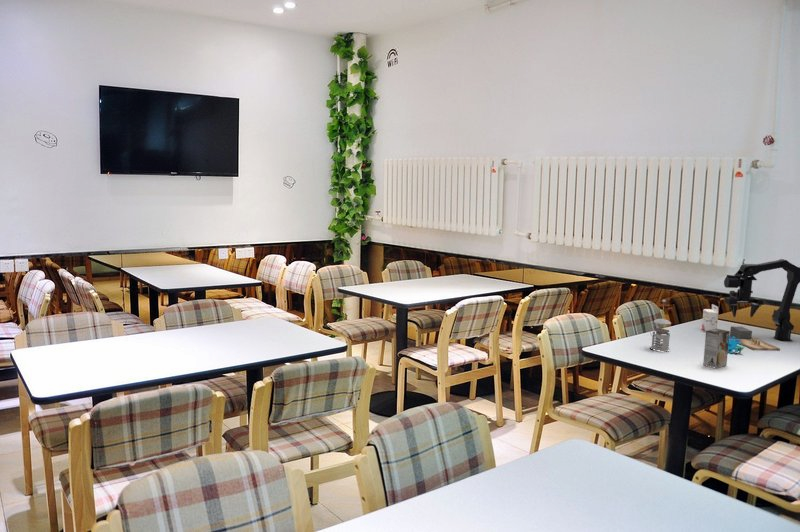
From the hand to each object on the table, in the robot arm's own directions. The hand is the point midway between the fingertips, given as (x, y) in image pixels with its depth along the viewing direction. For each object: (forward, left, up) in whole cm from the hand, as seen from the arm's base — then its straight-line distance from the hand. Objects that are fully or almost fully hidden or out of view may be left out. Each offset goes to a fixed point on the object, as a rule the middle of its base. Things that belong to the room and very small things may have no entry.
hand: (742, 317), depth 348 cm
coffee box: (+42, +53, -12) cm, 69 cm away
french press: (+56, +26, -12) cm, 63 cm away
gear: (+22, +30, -12) cm, 39 cm away
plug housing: (0, 0, -11) cm, 11 cm away
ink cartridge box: (+10, -14, -12) cm, 21 cm away
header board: (+1, +16, -11) cm, 20 cm away
